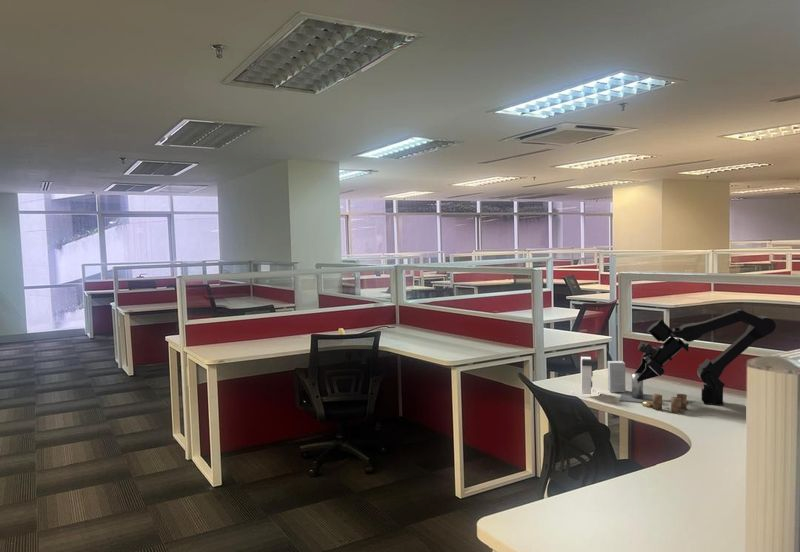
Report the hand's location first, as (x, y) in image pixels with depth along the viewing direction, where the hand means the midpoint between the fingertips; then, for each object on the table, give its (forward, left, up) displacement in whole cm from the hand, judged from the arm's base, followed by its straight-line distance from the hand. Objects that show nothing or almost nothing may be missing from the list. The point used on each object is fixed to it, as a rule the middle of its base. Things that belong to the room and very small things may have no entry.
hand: (636, 377), depth 221 cm
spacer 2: (-13, +14, -8) cm, 21 cm away
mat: (0, 0, -8) cm, 8 cm away
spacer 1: (-7, +12, -8) cm, 16 cm away
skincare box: (+8, -9, -8) cm, 14 cm away
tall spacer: (-1, 0, -8) cm, 8 cm away
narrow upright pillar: (+19, -1, -8) cm, 20 cm away
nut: (-4, +9, -8) cm, 13 cm away
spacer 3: (-15, +9, -8) cm, 19 cm away
